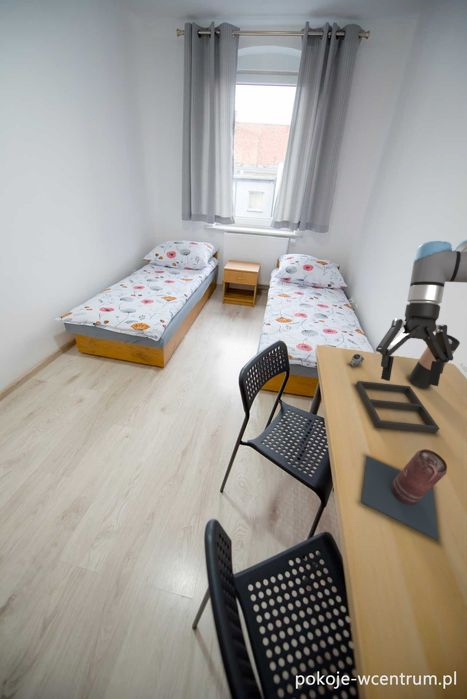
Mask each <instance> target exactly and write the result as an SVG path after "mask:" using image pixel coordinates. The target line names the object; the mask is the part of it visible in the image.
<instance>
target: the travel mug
mask: <svg viewBox="0 0 467 699" xmlns="http://www.w3.org/2000/svg"><path fill="white" fill-rule="evenodd" d="M434 335H435V337H436V333H434ZM447 336H448V339H449V343H450V347H451V351H452V355H453V354H454V353H455V352H456V350H457V349H458V347H459V345H460V344H461V342H460V340H459V339H457V338H455V337H454V336H452V335H450V334H447ZM436 341H437V338H436ZM437 343H438V342H437ZM453 356H454V355H453ZM432 361H436V360H435V358H434V356H433V355H432V353H431V351H430V349H429V348H428V346H426V348H425V350H424V351H423V353H422V355H421V356H420V357H419V359H418V360H417V362H416V364H415V366H414V368H413V369H412V371H411V373H410V375H409V377H408V381H409V383H410V384H411V385H413V386H414V387H415V388H419V389H422V390H423V389H424V390H425V389H429V387H431V385H430V384H428V380H429V375H430V369H431V364H432ZM446 365H447V363H444V367H445V366H446Z"/></svg>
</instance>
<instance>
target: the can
mask: <svg viewBox="0 0 467 699" xmlns="http://www.w3.org/2000/svg"><path fill="white" fill-rule="evenodd" d="M400 471H401V472H400V473H399V474H398V476H397V477H396V478H395V479H394V480H393V482H392V484H391V489H392V492H393V494H394V495H395V497H396V498H397V499H398V500H399V501H401V502H403V503H405V504H408V505H414V504H416V503H417V502H418V501H419V500H420V499H421V498H422V497H423V496H424V495H425V494H426V493H427V492H428V491H429V490H430V489H431V488H432V487H433V488H434V487H435V486H436V484H437V483H438V482H439V481H441V479H442V478H444V477H445V476H446V474H447V471H448V464H447V462H446V460H444V458H443V457H442V456H440V454H438V453H437V452H435V451H434V450H431V449H427V448H424V449H420V450H418V451H416V452H415V453H414V455H413V456H412V457H411V458H410V459H409V461H408V462H407V463H406V464H405V466H404V467H403V468H402V469H401V470H400Z"/></svg>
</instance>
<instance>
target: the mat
mask: <svg viewBox="0 0 467 699" xmlns="http://www.w3.org/2000/svg"><path fill="white" fill-rule="evenodd" d="M365 459H366V460H365V468H364V478H363V486H362V496H361V504H362V505H364V506H367V507H369V508H371V509H373V510H375V511H377V512H379V513H381V514H382V515H385V516H387V517H389V518H391V519H393V520H395V521H397V522H399V523H400V524H403V525H405V526H406V527H409V528H411V529H413V530H415V531H417V532H418V533H421V534H423V535H425V536H426V537H429V538H431V539H433V540H434V541H436V542H437V541H439V531H438V522H437V514H436V504H435V494H434V486H433V487H432V488H431V489H430V490H429V491H428V492H427V493H426V494H425V495H424V496H423V497H422V498H421V499H420V500H419V501H418V502H417V503H416V504H414V505H408V504H405V503H403V502H401V501H399V500H398V499H397V498H396V497H395V495H394V494H393V492H392V489H391V484H392V482H393V480H394V479H395V478H396V477H397V476H398V474H399V473H400V472H401V471H402V470H400V469H397V468H396V467H393V466H391V465H388V464H386V463H384V462H382V461H380V460H377V459H375V458H373V457H370V456H368V455H367V456H366V458H365Z"/></svg>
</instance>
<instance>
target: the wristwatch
mask: <svg viewBox="0 0 467 699" xmlns="http://www.w3.org/2000/svg"><path fill="white" fill-rule="evenodd" d="M364 360H365V357H364V356H363V355H362V354H360V353H354V354H353V355H352V356H351V359H350V361H349V365H350V366H351V367H357V366H360V365H361V364H362V363H363V362H364Z"/></svg>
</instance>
